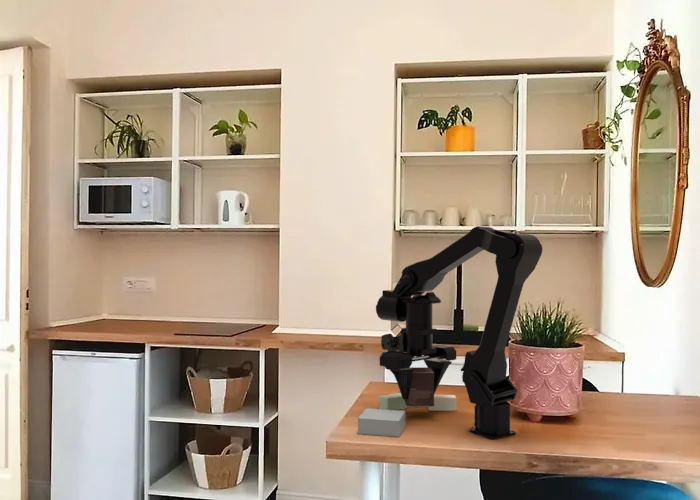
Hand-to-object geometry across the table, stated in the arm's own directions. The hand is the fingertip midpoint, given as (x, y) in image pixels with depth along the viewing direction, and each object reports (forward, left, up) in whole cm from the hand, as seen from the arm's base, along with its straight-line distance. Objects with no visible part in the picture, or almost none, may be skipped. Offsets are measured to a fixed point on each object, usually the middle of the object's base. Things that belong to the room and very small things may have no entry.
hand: (418, 396), depth 135 cm
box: (0, 0, -2) cm, 2 cm away
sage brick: (+8, +1, -4) cm, 9 cm away
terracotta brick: (+9, -5, -4) cm, 11 cm away
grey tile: (-5, +13, -4) cm, 15 cm away
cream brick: (+2, -8, -4) cm, 9 cm away
